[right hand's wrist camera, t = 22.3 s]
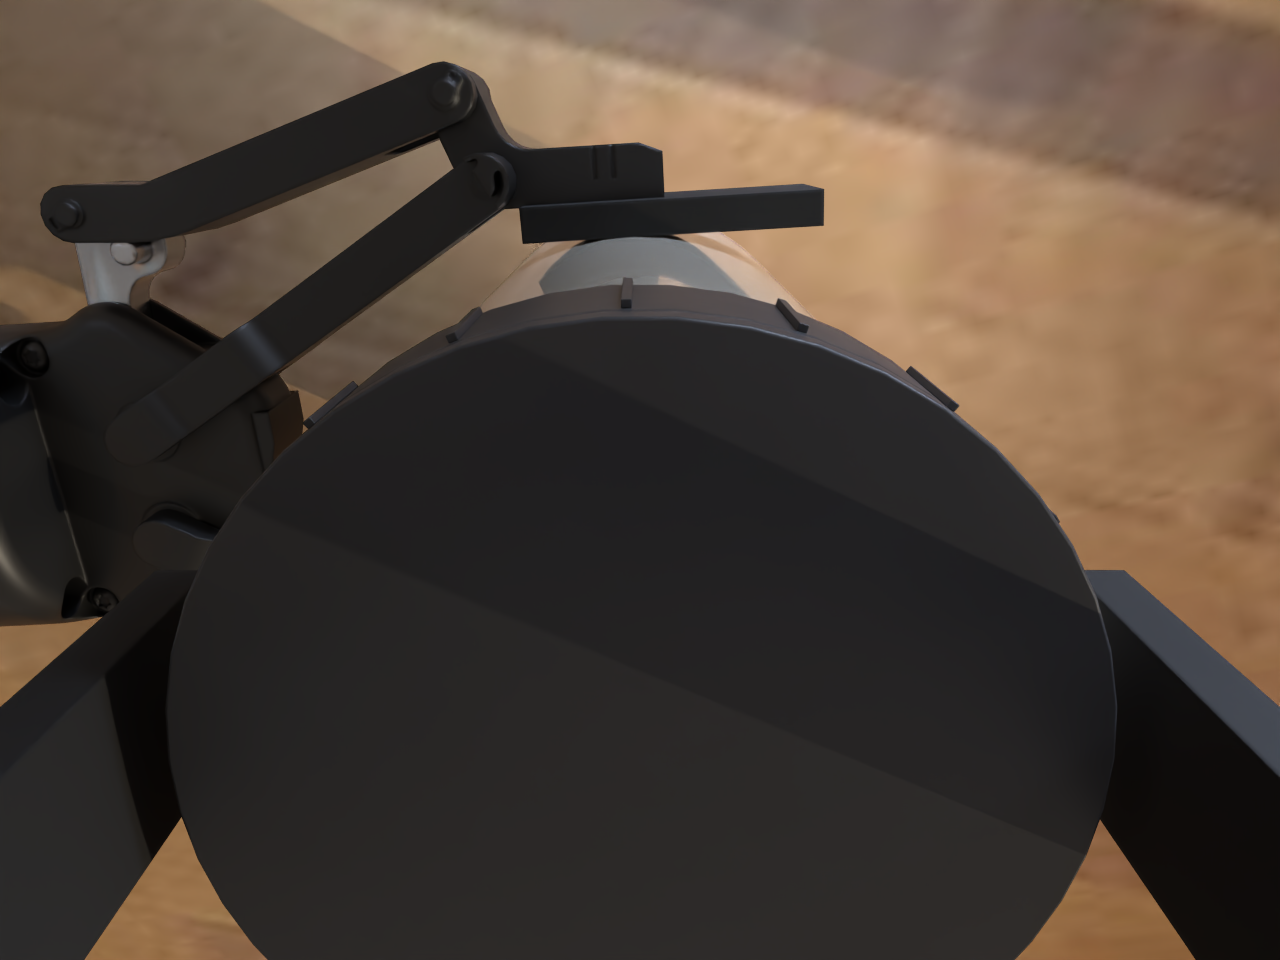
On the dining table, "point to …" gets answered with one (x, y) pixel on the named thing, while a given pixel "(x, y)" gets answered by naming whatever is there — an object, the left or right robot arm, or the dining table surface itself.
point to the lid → (641, 656)
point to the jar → (642, 268)
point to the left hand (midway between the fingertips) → (811, 431)
